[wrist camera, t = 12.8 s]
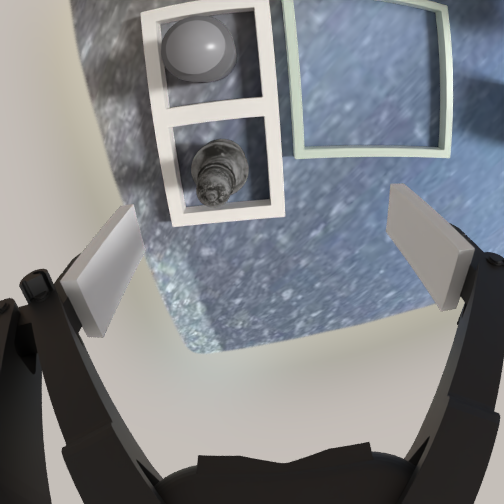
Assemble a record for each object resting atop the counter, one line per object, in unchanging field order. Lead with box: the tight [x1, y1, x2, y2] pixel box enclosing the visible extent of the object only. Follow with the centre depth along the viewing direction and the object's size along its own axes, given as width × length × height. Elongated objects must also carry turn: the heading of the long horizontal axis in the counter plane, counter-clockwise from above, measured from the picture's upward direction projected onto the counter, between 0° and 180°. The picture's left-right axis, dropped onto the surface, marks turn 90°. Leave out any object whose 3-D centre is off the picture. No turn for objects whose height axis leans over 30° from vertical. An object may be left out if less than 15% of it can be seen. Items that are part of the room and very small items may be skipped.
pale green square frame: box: [281, 0, 453, 159], centre depth 29 cm, size 20×20×2 cm
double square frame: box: [141, 0, 285, 227], centre depth 27 cm, size 25×13×11 cm, turn 5°
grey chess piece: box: [191, 139, 249, 208], centre depth 30 cm, size 6×6×12 cm
